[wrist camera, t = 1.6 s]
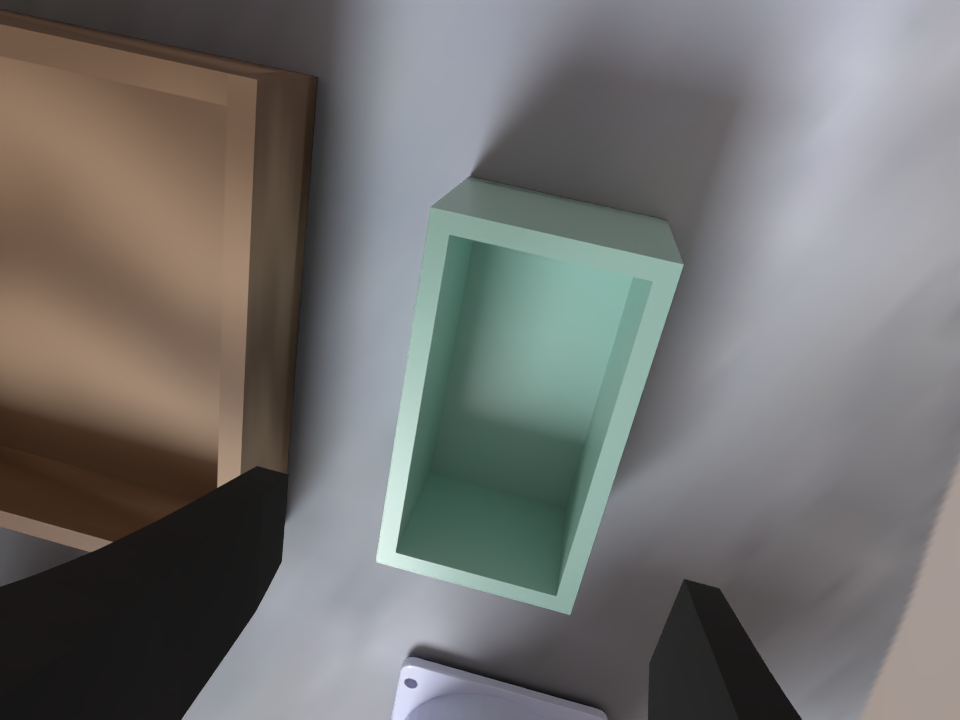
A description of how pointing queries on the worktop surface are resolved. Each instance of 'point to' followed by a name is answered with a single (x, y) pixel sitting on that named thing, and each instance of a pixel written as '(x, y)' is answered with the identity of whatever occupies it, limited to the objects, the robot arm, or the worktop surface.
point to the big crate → (143, 275)
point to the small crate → (521, 386)
